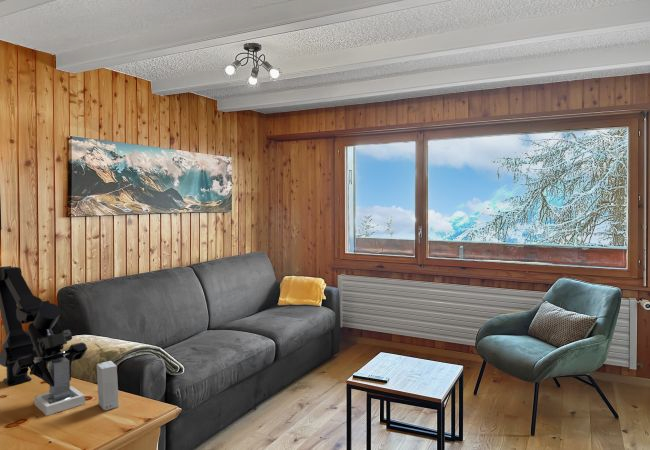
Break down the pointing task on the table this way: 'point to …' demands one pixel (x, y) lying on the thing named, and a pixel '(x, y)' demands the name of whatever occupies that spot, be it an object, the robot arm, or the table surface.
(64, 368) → the end cover
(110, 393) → the skincare box
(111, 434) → the table surface
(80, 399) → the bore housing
